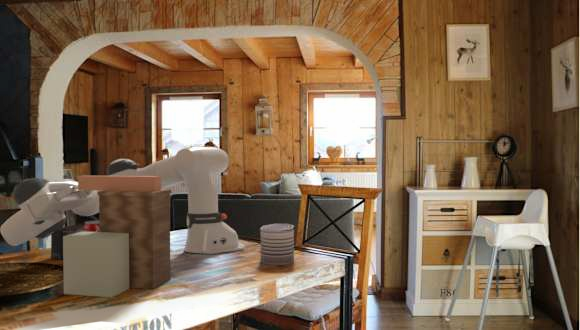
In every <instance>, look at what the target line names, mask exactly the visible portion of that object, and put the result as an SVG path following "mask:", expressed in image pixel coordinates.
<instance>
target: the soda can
mask: <svg viewBox="0 0 580 330" xmlns="http://www.w3.org/2000/svg"><path fill="white" fill-rule="evenodd" d="M83 226H84V227H83V231H85V232H100V225H99V220H89V221H88V220H87V221H84V225H83Z"/></svg>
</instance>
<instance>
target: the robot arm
mask: <svg viewBox="0 0 580 330" xmlns="http://www.w3.org/2000/svg"><path fill="white" fill-rule="evenodd" d="M229 158H230V157H229V155H228V153H227V152H226V151H225V150H224V149H221V148H218V147H215V146H198V145H197V146H196V145H195V146H194V145H193V146H187V147H185V148H181V149H180V150H178V151H177V152H176V154H175V155H172V156H169V157H166V158H163V159H160V160H158V161H155V162H153V163H150V164H148V165H147V166H145V167H141V168H139V167H138V166H140V165H141V164H140V163H136V162H135V161H133V160H131V159H129V158H118V159H116V160H113V161H112V162H111V163H110V164H108V165H107V167H106V176H161V189H167V188H170V187H174V186H177V185H180V184H183V183H185V186H186V191H187V202H188V203H187V204H188V205H187V206H188V209H187V210H188V211H187V215H186V226H187V235H186V240H185V246H184V249H183V251H184V252H186V253H187V252H188V253H192V254H193V253H194V254H202V255H203V254H205V255H213V254H221V253H229V252H234V251H235V252H236V251H242V250H245V245H244V244H243V243H241V242H239V236H238V234H237V231H236V230H234V228H232V227H230V225H228V224H227V223H226V222H224V220H226V219H227V218H228V215H227V214H226V213H221V212H219V193H218V190H217V188H215V187H214V185H213V183H212V179H211V177H212V176H216V175H219V174H221V173H223V172H225V171H226V170H227V168H228V167H229V164H230V159H229ZM97 191H103V190H78V180H77V181H76V180H75V179H71V178H49V179H46V178H44V179H43V178H39V177H30V178H27V179H24V180H22V181H21V182H19V183H17V184H16V185H15V186H14V188H13V191H12V195H11V196H12V199H13V201H14V202H15V203H16V205H17V206H18V207H19V208H20V210H19V211H17V212H16V213H14V214H13V215H11V216H10V217H9V218H8V219H7V220H6V221H4V223H3V224H1V225H0V235H1V236H2V238H3V239H4V241H5V242H6V243H7V244H8V245H10V246H13V247H15V246H20V245H22V244H25V243H26V242H28V241H30V240H32V239H35V238H36V239H45V238H48V237H51V234H53V233H54V232H55V231H57V230H59V229H61V228H62V227H65V224H66V220H67V216H66V215H65V212H67V211H72V212H73V213H74V214H76V215H79V216H82V217H89V216H94V215H96V214H98V213H99V195H98V193H97Z"/></svg>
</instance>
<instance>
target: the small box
mask: <svg viewBox="0 0 580 330" xmlns="http://www.w3.org/2000/svg"><path fill="white" fill-rule="evenodd" d="M83 227H84V225H80V224H73V225H66V226H65V225H64V226H63V227H62V228H61V229H59V230H57V231H55V232H54V233H53V234H51V235H50V239H51V240H50V241H51V242H50V253H51V254H50V258H53V259H55V260H62V261H63V236H66V235H70V234H74V233H79V232H83Z"/></svg>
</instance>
